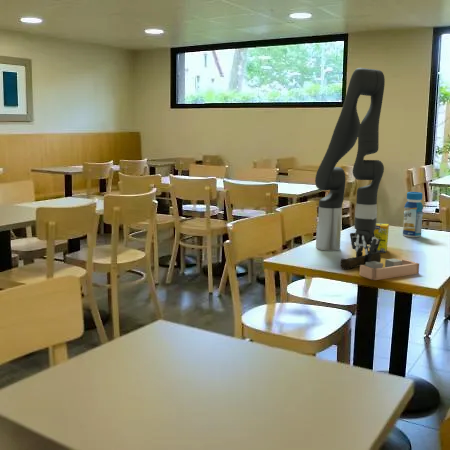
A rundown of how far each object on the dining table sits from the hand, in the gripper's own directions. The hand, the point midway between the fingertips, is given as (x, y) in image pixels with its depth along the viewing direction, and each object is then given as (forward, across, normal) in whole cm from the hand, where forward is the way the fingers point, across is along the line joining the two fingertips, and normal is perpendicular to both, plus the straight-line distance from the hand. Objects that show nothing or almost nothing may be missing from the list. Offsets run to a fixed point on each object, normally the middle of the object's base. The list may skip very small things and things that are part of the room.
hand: (363, 263), depth 206 cm
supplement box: (+1, -16, +22) cm, 27 cm away
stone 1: (+1, +10, -4) cm, 11 cm away
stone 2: (+1, +10, +4) cm, 11 cm away
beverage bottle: (+1, -34, +58) cm, 67 cm away
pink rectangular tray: (+1, +13, 0) cm, 13 cm away
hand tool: (+1, 0, -1) cm, 1 cm away
